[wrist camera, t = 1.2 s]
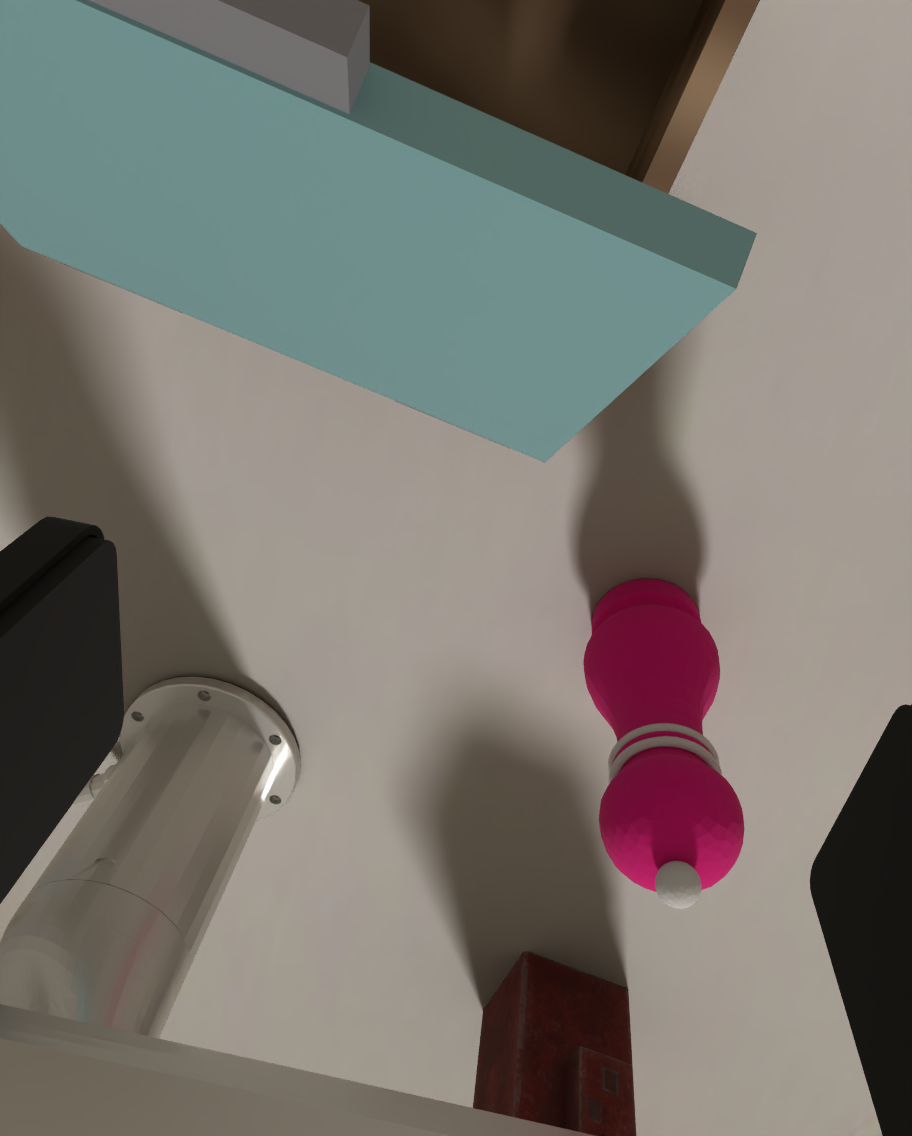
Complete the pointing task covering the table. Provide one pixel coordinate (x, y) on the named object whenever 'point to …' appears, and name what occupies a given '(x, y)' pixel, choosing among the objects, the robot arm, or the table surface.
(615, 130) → the box
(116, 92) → the lid
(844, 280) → the table surface
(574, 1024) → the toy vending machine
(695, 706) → the pepper mill
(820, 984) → the table surface
